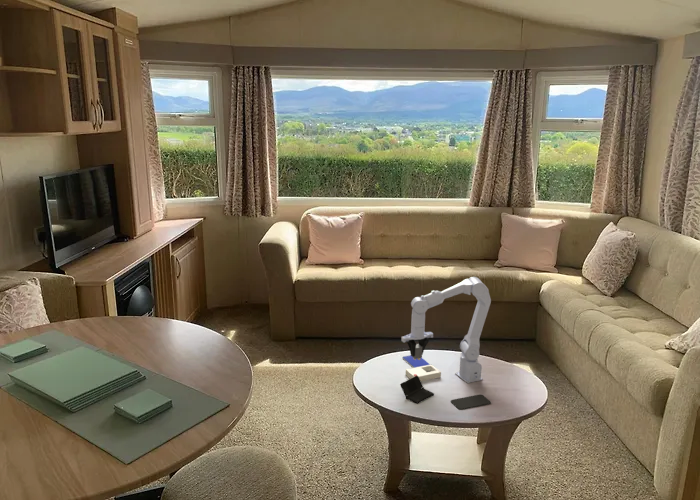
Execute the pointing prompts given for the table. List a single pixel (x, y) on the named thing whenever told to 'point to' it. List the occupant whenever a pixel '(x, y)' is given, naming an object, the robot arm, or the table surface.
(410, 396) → the handheld gaming console
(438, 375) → the socket plate
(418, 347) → the plug
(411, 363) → the hard drive
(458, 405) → the phone
